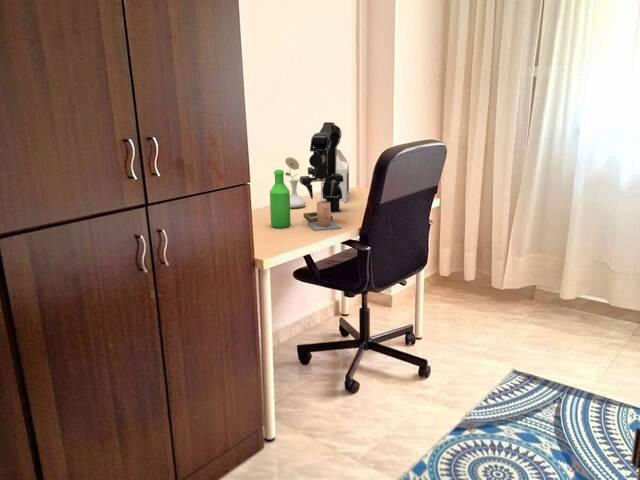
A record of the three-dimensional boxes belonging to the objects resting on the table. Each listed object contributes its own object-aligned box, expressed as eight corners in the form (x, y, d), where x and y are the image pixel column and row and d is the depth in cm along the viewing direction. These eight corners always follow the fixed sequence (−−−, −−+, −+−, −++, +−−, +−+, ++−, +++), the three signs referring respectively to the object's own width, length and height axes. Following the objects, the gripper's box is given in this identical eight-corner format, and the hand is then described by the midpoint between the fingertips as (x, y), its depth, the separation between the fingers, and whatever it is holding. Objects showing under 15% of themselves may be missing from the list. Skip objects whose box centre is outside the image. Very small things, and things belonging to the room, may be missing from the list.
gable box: (325, 194, 316) (324, 143, 308) (349, 194, 314) (349, 143, 306) (321, 203, 295) (320, 149, 287) (346, 203, 293) (346, 149, 285)
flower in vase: (310, 207, 286) (309, 157, 279) (291, 210, 280) (289, 160, 272) (296, 202, 296) (295, 154, 289) (277, 205, 290) (275, 156, 283)
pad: (333, 222, 257) (333, 220, 257) (341, 228, 246) (341, 227, 246) (307, 224, 254) (307, 222, 254) (314, 231, 243) (314, 229, 243)
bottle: (268, 224, 254) (266, 169, 247) (286, 222, 257) (284, 167, 250) (274, 229, 246) (272, 172, 239) (293, 227, 250) (291, 170, 242)
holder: (325, 215, 270) (325, 211, 269) (332, 220, 259) (332, 216, 259) (303, 216, 267) (303, 213, 266) (309, 222, 257) (309, 218, 256)
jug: (334, 227, 246) (333, 205, 243) (321, 228, 244) (320, 206, 241) (327, 221, 255) (327, 200, 252) (314, 223, 253) (314, 201, 250)
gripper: (335, 159, 257) (336, 192, 262) (296, 161, 253) (297, 195, 257) (343, 163, 247) (343, 197, 252) (302, 166, 242) (303, 201, 247)
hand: (321, 198), depth 252 cm, fingers open, 9 cm apart
